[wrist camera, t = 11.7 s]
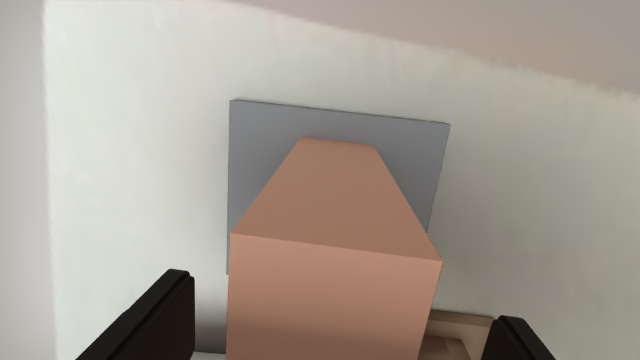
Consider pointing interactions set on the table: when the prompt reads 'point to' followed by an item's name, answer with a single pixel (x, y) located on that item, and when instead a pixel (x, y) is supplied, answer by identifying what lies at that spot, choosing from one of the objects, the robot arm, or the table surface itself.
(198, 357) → the alarm clock
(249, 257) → the salmon pink tall block
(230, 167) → the mat
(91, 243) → the table surface
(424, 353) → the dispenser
